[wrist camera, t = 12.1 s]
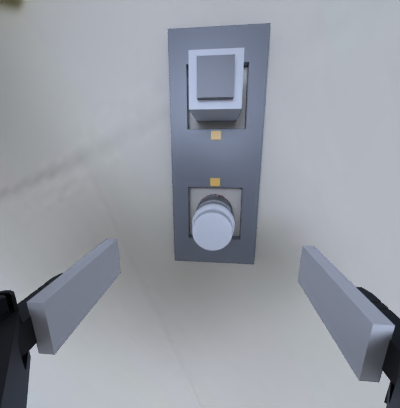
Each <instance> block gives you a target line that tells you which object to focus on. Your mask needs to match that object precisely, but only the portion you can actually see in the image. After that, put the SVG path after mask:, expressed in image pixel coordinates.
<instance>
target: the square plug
mask: <svg viewBox="0 0 400 408" xmlns="http://www.w3.org/2000/svg"><path fill="white" fill-rule="evenodd" d="M188 55H189V110H190V112H191V113H192V115H193V116H194V117H195V119H196V120H197V121H236V120H237V118H238V116H239V113H240V111H241V109H242V91H243V69H244V48H224V49H201V50H188Z"/></svg>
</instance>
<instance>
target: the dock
mask: <svg viewBox="0 0 400 408" xmlns="http://www.w3.org/2000/svg"><path fill="white" fill-rule="evenodd" d="M269 37H270V23H266V24H248V25H231V26H213V27H196V28H178V29H168V52H169V85H170V118H171V151H172V184H173V217H174V250H175V260H177V261H198V262H218V263H238V264H254V258H255V244H256V229H257V214H258V199H259V184H260V170H261V155H262V140H263V125H264V111H265V96H266V81H267V66H268V51H269ZM224 48H244V66H248V73H247V93H246V114H245V129H197V130H189V123H188V69H189V55H188V50H201V49H224ZM189 187H221V188H242V197H241V218H240V236H232V238H231V240H230V242H229V243H228V245H227V246H225V247H224V248H222V249H219V250H215V251H211V250H206V249H204V248H202V247H200V246H199V245H198V244H197V243H196V242H195V240H194V238H193V235H190V210H189Z"/></svg>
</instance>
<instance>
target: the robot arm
mask: <svg viewBox="0 0 400 408" xmlns="http://www.w3.org/2000/svg"><path fill="white" fill-rule="evenodd" d="M120 273H121V271H120V262H119V252H118V243H117V239H106V240H105V241H104V242H102V243H101V244H100V245H99V246H97V247H96V248H95V249H94V250H92V251H91V252H90V253H88V254H87V255H86V256H85V257H83V258H82V259H81V260H80V261H78V262H77V263H76V264H74V265H73V266H72V267H71V268H69V269H68V270H67V271H66V272H64V273H61V274H59V275H57V276H55V277H53V278H51V279H50V280H49V281H47V282H46V283H45V284H44V285H42V286H41V287H39V288H38V290H36V291H34V292H33V293H32V294H30V295H29V296H28V297H26V298H25V299H24V300H22V301H21V302H20V303H18V304H17V301H16V298H15V294H14V292H13V291H11V290H4V291H0V408H26V405H27V393H28V382H29V370H30V358H31V356H30V352H29V350H30V349H31V348H32V347H33V346H34V345H35V344H36V343H37V347H38V352H39V353H41V354H53V355H55V353H56V352H57V351H58V350H59V349H60V347H61V346H62V345H63V344H64V342H65V341H66V340H67V339H68V337H69V336H70V335H71V334H72V332H73V331H74V330H75V329H76V327H77V326H78V325H79V324H80V322H81V321H82V320H83V319H84V317H85V316H86V315H87V314H88V312H89V311H90V310H91V309H92V308H93V306H94V305H95V304H96V303H97V301H98V300H99V299H100V298H101V296H102V295H103V294H104V293H105V291H106V290H107V289H108V288H109V286H110V285H111V284H112V283H113V281H114V280H115V279H116V278H117V276H118V275H119V274H120ZM298 282H299V284H300V285H301V287H302V289H303V290H304V292H305V294H306V295H307V297H308V298H309V300H310V302H311V303H312V305H313V307H314V308H315V310H316V311H317V313H318V315H319V316H320V318H321V320H322V321H323V323H324V324H325V326H326V328H327V329H328V331H329V333H330V334H331V336H332V337H333V339H334V341H335V342H336V344H337V346H338V347H339V349H340V350H341V352H342V354H343V355H344V357H345V359H346V360H347V362H348V363H349V365H350V367H351V368H352V370H353V372H354V373H355V375H356V376H357V378H358V380H359V381H370V382H379V381H380V378H381V374H382V371H384V373H385V374H386V375H387V377H388V378H389V379H390V385H389V388H388V391H387V395H386V398H385V401H384V402H385V403H386V404H387V407H386V408H400V318H398V317H397V316H396V315H395V314H394V313H393V312H392V311H391V310H389V309H388V307H386V306H385V305H384V304H383V303H381V301H380V300H379V299H378V298H377V297H376V296H375V295H373V294H372V293H370V292H369V291H367V290H365V289H364V288H362V287H355V286H354V285H353V284H352V283H351V282H350V281H349V280H348V279H347V278H346V277H345V276H344V275H343V274H342V273H341V272H340V271H339V270H338V269H337V268H336V267H335V266H334V265H333V264H332V263H331V262H330V261H329V260H328V259H327V258H326V257H325V256H324V255H323V254H322V253H321V252H320V251H319V250H318V249H317V248H316V247H315V246H302V254H301V261H300V269H299V277H298Z"/></svg>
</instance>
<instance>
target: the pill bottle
mask: <svg viewBox="0 0 400 408" xmlns="http://www.w3.org/2000/svg"><path fill="white" fill-rule="evenodd" d="M234 229H235V220H234V215H233V211H232V206H231V204H230V202H229V201H228V200H227V199H226V198H225V197H223V196H221V195H217V194H213V195H208V196H206V197H204V198H203V199H202V200H201V201H200V203H199V205H198V207H197V210H196V212H195V214H194V216H193V219H192V235H193V238H194V240H195V242H196V243H197V244H198V245H199V246H200V247H202V248H204V249H206V250H211V251H215V250H219V249H222V248H224V247H225V246H227V245H228V243H229V242H230V240H231V238H232V234H233V232H234Z"/></svg>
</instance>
